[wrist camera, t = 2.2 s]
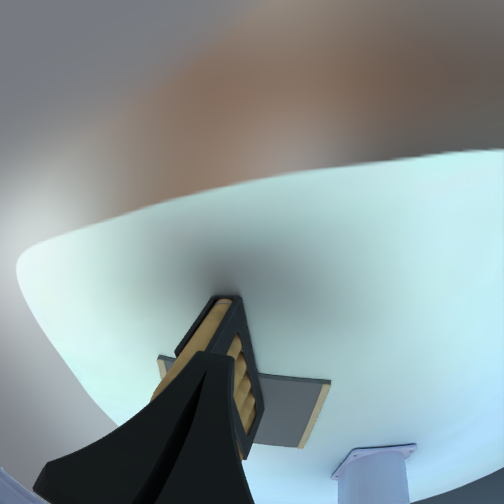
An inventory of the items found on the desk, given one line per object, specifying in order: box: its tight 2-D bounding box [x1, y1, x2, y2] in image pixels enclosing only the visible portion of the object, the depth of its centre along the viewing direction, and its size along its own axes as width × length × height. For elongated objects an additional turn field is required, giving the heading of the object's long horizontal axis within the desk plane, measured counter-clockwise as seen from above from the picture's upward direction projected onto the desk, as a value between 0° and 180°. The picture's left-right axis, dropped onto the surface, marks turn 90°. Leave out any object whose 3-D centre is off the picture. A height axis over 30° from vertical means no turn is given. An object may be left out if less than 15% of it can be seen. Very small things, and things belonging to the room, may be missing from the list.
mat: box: [157, 355, 331, 449], centre depth 22 cm, size 11×13×1 cm
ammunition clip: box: [150, 296, 265, 462], centre depth 13 cm, size 11×2×12 cm, turn 10°
